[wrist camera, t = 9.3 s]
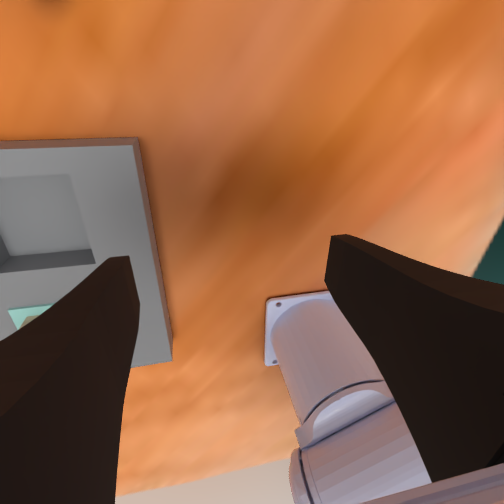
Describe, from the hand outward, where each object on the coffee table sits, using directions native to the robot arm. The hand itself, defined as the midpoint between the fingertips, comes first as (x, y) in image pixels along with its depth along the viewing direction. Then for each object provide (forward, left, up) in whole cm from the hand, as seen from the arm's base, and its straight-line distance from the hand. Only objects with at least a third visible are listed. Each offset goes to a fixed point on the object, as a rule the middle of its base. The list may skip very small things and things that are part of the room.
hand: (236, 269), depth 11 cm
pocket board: (+10, +5, -10) cm, 15 cm away
